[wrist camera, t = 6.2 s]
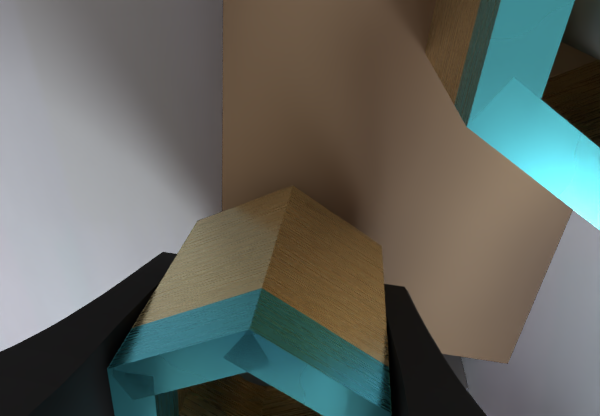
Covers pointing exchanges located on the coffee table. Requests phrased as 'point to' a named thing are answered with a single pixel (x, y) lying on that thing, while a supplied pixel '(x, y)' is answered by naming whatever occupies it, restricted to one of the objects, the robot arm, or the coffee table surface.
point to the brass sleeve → (262, 320)
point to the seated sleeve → (523, 91)
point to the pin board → (392, 156)
